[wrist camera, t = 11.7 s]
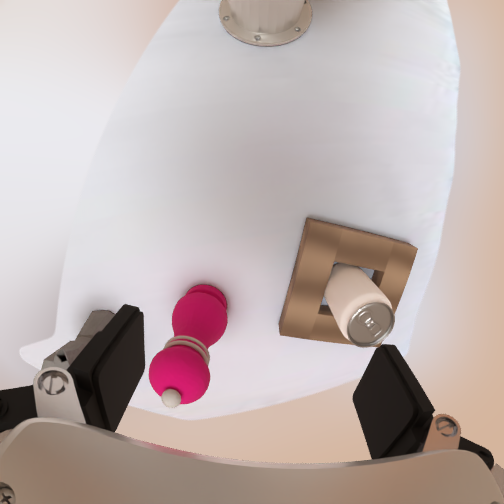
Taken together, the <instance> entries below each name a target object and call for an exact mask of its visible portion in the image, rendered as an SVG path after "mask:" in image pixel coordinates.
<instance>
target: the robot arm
mask: <svg viewBox="0 0 504 504" xmlns="http://www.w3.org/2000/svg"><path fill="white" fill-rule="evenodd" d="M219 16H220V20H221V23H222V25H223V27H224V28H225V29H226V30H227V32H228V33H230V34H231V35H232V36H233V37H235V38H237V39H239V40H240V41H243V42H246V43H249V44H253V45H258V46H277V45H282V44H286V43H289V42H291V41H294V40H295V39H297V38H298V37H300V36H301V35H302V34H303V33H304V32H305V31H306V30H307V28H308V27H309V24H310V22H311V18H312V9H311V6H310V3H309V2H308V0H222V1H221V3H220V7H219ZM226 20H228V21H226ZM296 31H298V32H296ZM257 39H258V40H259V41H257ZM144 369H145V351H144V315H143V312H140V310H139V308H138V307H135V306H131V305H127V304H124V305H123V306H122V307H121V309H120V310H119V311H118V312H117V313H116V314H115V316H114V317H113V318H112V319H111V320H110V322H109V323H108V324H107V325H106V326H105V328H104V329H103V330H102V331H98V332H97V333H96V334H95V335H94V336H93V338H92V339H91V340H90V341H89V343H88V344H87V345H86V346H85V347H84V349H83V350H82V351H81V352H80V354H79V355H78V356H77V357H76V358H75V360H74V361H73V362H72V363H71V365H70V366H69V367H68V369H67V370H64V369H62V368H58V367H49V368H45V369H43V370H41V371H40V372H38V373H37V374H36V376H35V378H34V381H33V385H31V386H25V387H19V388H13V389H6V390H0V504H504V469H503V468H501V467H500V466H499V465H498V464H495V465H494V459H493V456H492V454H491V452H490V451H489V450H487V449H486V448H484V447H482V446H480V445H477V444H475V443H473V442H471V441H469V440H467V439H465V438H463V437H461V436H460V434H461V428H460V425H459V423H458V422H457V421H456V420H455V419H454V418H453V417H451V416H449V415H446V414H439V415H436V416H435V417H433V415H432V414H433V412H434V411H435V409H434V407H433V406H432V404H431V402H430V400H429V399H428V397H427V396H426V394H425V392H424V391H423V389H422V387H421V385H420V384H419V382H418V380H417V379H416V378H415V376H414V374H413V372H412V371H411V369H410V368H409V366H408V364H407V363H406V361H405V360H404V358H403V357H402V355H401V354H400V352H399V350H398V349H397V347H396V346H395V345H388V344H382V345H381V346H380V347H378V348H376V350H375V352H374V354H373V356H372V358H371V360H370V362H369V364H368V366H367V368H366V370H365V372H364V374H363V376H362V378H361V380H360V382H359V384H358V386H357V388H356V390H355V391H354V394H353V403H354V405H355V408H356V411H357V414H358V417H359V420H360V423H361V427H362V430H363V433H364V436H365V439H366V442H367V445H368V448H369V452H370V455H371V458H372V460H364V461H355V462H342V463H318V464H293V463H268V462H255V461H244V460H236V459H227V458H220V457H214V456H208V455H202V454H196V453H191V452H186V451H181V450H177V449H172V448H168V447H164V446H160V445H156V444H152V443H148V442H144V441H141V440H137V439H134V438H131V437H127V436H124V435H121V434H118V433H114V432H115V431H116V429H117V427H118V425H119V423H120V420H121V418H122V416H123V414H124V412H125V410H126V408H127V406H128V403H129V401H130V399H131V397H132V395H133V393H134V391H135V389H136V387H137V385H138V383H139V381H140V379H141V377H142V375H143V372H144ZM493 465H494V466H493Z"/></svg>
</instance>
